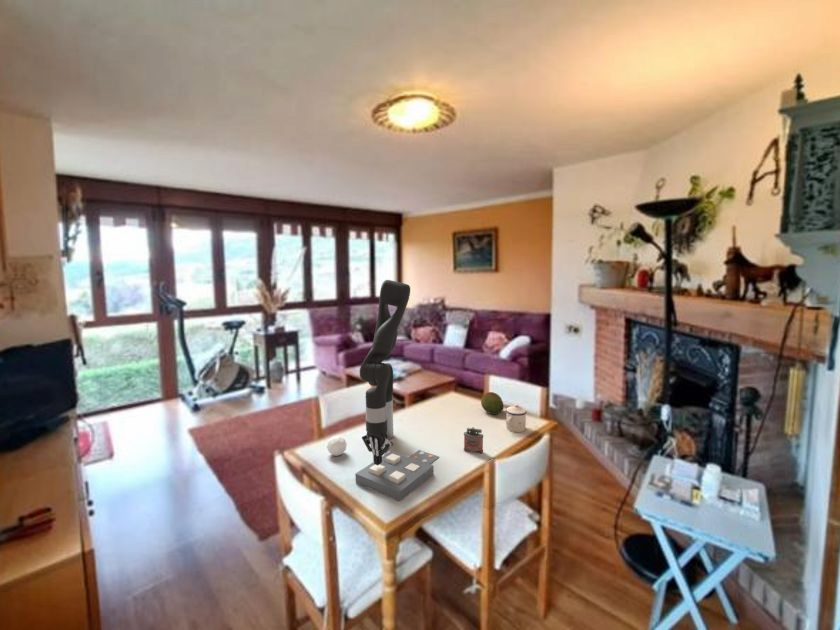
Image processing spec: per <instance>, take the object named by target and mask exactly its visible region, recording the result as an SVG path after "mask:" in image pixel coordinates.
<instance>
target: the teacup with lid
mask: <svg viewBox="0 0 840 630" xmlns="http://www.w3.org/2000/svg"><path fill="white" fill-rule="evenodd" d="M505 411H506V421H505V422H506V426H505V427H506V429H507V430H508V431H509V430H510V432H512V431H513V432H514V433H522V431H523V432H524V431H525V430H526V424H527V423H526V421H527V417H526V415H527V410H526V408H525V407H522V406H520V405H519V404H518V403H514V405H512V406H509V407H507V408H506V409H505ZM513 432H512V433H513Z"/></svg>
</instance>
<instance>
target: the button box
mask: <svg viewBox="0 0 840 630" xmlns="http://www.w3.org/2000/svg"><path fill="white" fill-rule="evenodd" d="M391 454H395V455H398V456H400V457H401V461H400V462H398V463H397V464H395V465H392V464H389V463H386V457H387V456H389V455H391ZM411 463H413V464H415V465H418V466H420V468H419V469H418V470H417V471H415V472H411V471H408V470H406V469H405V467H406V466H408V465H409V464H411ZM373 465H375V464H374V461H373V462H371V463H370V464H368V465H366V466H365V467H363V468H362V469H360V470H359V471H357V472H356V473H355V476H354V477H355V483H356V484H357V485H360V486H363V487H364V488H367V489H369V490H372V491H374V492H376V493H379V494H381V495H383V496H385V497H388V498H391V499H393V500H395V501H398V502H401V501H403V500H404V499H405V498H407V496H409V495H410V494H412V492H414V491H415V490H416V489H418V488H419V487H420V486H421V485H422V484H423V483H425V482H426V481H427V480H429V479H430V478H431V477H433V475H434V465H432V464H427V463H424V462H422V461H419V460H416V459H413V458H410V457H409V456H406V455H404V454H401V453H398V452H395V451H393V450H390V451H389V452H387V453H385V454H383V455H382V463H381V464H380V465H382V466H385V472H384V473H382V474H381V475H379V476H376V475H373V474H371V473H369V468H370V467H372V466H373ZM395 471H398V472H401V473H404V474H405V480H403V481H402V482H401V483H399V484H396V483H393V482H391V481H389V475H391V474H392V473H393V472H395ZM429 477H430V478H429Z"/></svg>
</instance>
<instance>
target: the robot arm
mask: <svg viewBox="0 0 840 630" xmlns="http://www.w3.org/2000/svg"><path fill="white" fill-rule="evenodd" d="M410 296H411V286H410V285H409V284H407V283H404V282H400V281H396V280H390V279H385V280H384V281H383V282H382V284H381V286H380V291H379V299H378V300H379V301H378V311H377V312H378V313H377V319H376V320H377V321H376V325H375V330H374V337H373V341H372V344H371V348H370V350H369V351H368V353H367V355H366V356H365V358H364V360H363V362H362V363H361V365H360V368H359V377H360V379H361V380H362V381H363V382H366V383H368V384H369V386H371V387H370V388H368V389H367V390H366V392H365V430H366V434H365V435H363V436H362V437H361V439H362V441H363V443H364V445H365V446H366V448H367V450H368V452H369V453H372V455H373V457H372V459H373V462H374V464H375V465H380V464H381V463H382V456H384V455H385V454H387V453H388V451H389V450H390V449H391V447H393V445H394V443H393V442H392V441H389V440H391V439H392V438H394V407H393V406H394V400H393V395H394V368H393V366H392V364H391V363H389V362H386V363H385V362H384V361H385V359H388V358H389V357H390V356H391V352H392V351H393V350H394V349H395V347H396V345H397V344H396V343H397V338H398V335H399V334H398V331H399V330H398V329H399V326H400V324H401V322H402V319H403V317H404V314H405V311H406V309H407V306H408V303H409V301H410ZM389 306H393V307H396V310H395V311H394V312H393V315H391V313H390V310H389V309H390V307H389Z"/></svg>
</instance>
